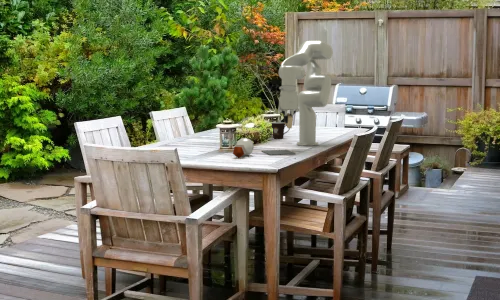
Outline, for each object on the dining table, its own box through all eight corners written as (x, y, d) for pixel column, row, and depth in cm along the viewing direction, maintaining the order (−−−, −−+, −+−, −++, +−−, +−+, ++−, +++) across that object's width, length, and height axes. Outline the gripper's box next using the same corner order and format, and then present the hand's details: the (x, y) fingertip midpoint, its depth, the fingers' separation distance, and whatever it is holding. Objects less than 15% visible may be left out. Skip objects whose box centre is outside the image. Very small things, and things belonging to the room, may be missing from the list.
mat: (261, 151, 388) (261, 150, 388) (286, 150, 392) (286, 149, 392) (270, 155, 373) (270, 154, 373) (295, 154, 376) (295, 153, 376)
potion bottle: (250, 157, 378) (241, 164, 364) (235, 146, 379) (226, 153, 365) (259, 143, 374) (251, 150, 360) (244, 132, 375) (235, 138, 361)
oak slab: (284, 123, 392) (285, 113, 389) (287, 123, 392) (288, 113, 390) (288, 128, 386) (289, 118, 383) (291, 128, 386) (292, 118, 384)
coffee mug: (268, 138, 451) (268, 122, 450) (279, 137, 456) (279, 121, 455) (280, 140, 442) (280, 124, 440) (290, 139, 447) (290, 123, 445)
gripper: (276, 89, 380) (276, 123, 382) (304, 89, 384) (304, 123, 386) (272, 88, 387) (272, 122, 389) (300, 88, 391) (299, 122, 393)
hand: (288, 122), depth 388 cm, fingers closed on oak slab, 1 cm apart
